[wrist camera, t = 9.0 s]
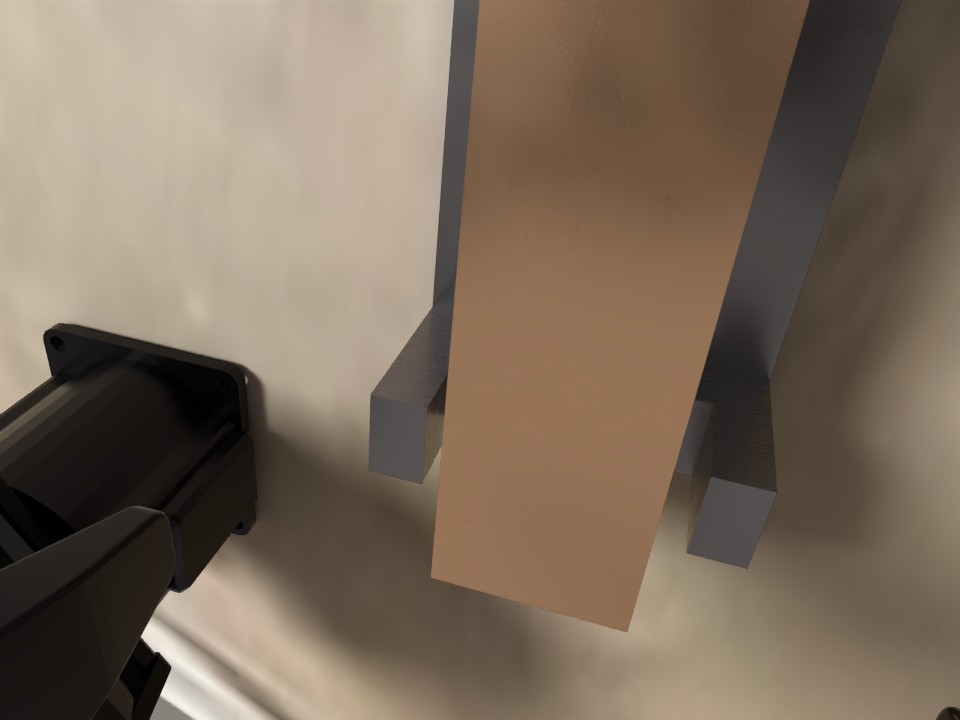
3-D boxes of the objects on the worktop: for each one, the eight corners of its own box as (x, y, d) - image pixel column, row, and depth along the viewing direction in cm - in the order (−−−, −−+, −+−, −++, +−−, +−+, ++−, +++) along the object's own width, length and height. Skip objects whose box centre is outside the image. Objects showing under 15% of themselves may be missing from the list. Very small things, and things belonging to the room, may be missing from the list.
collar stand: (437, 386, 22) (368, 505, 18) (514, -579, 12) (401, -813, 8) (734, 456, 20) (734, 603, 16) (1084, -572, 11) (1298, -849, 7)
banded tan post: (479, 455, 20) (424, 580, 16) (612, -669, 10) (545, -963, 6) (651, 498, 19) (631, 638, 15) (972, -672, 9) (1116, -1007, 6)
